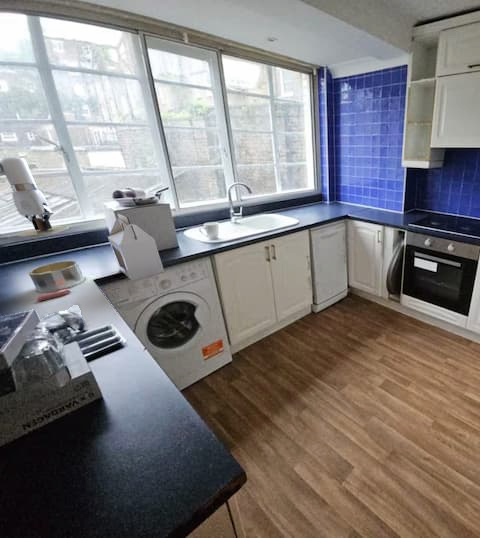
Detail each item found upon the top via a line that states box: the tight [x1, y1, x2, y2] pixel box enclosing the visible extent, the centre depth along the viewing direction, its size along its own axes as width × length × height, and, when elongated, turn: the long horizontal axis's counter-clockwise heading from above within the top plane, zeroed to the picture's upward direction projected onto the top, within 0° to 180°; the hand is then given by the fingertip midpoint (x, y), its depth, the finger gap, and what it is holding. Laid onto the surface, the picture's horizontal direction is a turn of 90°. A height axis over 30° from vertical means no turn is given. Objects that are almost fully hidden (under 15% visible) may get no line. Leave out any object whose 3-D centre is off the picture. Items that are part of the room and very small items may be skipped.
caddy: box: [28, 260, 85, 293], centre depth 132 cm, size 16×16×8 cm
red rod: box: [36, 288, 71, 302], centre depth 122 cm, size 10×2×2 cm, turn 139°
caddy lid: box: [17, 217, 70, 238], centre depth 133 cm, size 17×17×7 cm
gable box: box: [107, 213, 165, 282], centre depth 140 cm, size 22×13×28 cm, turn 49°
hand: (43, 228), depth 133 cm, fingers closed on caddy lid, 3 cm apart
